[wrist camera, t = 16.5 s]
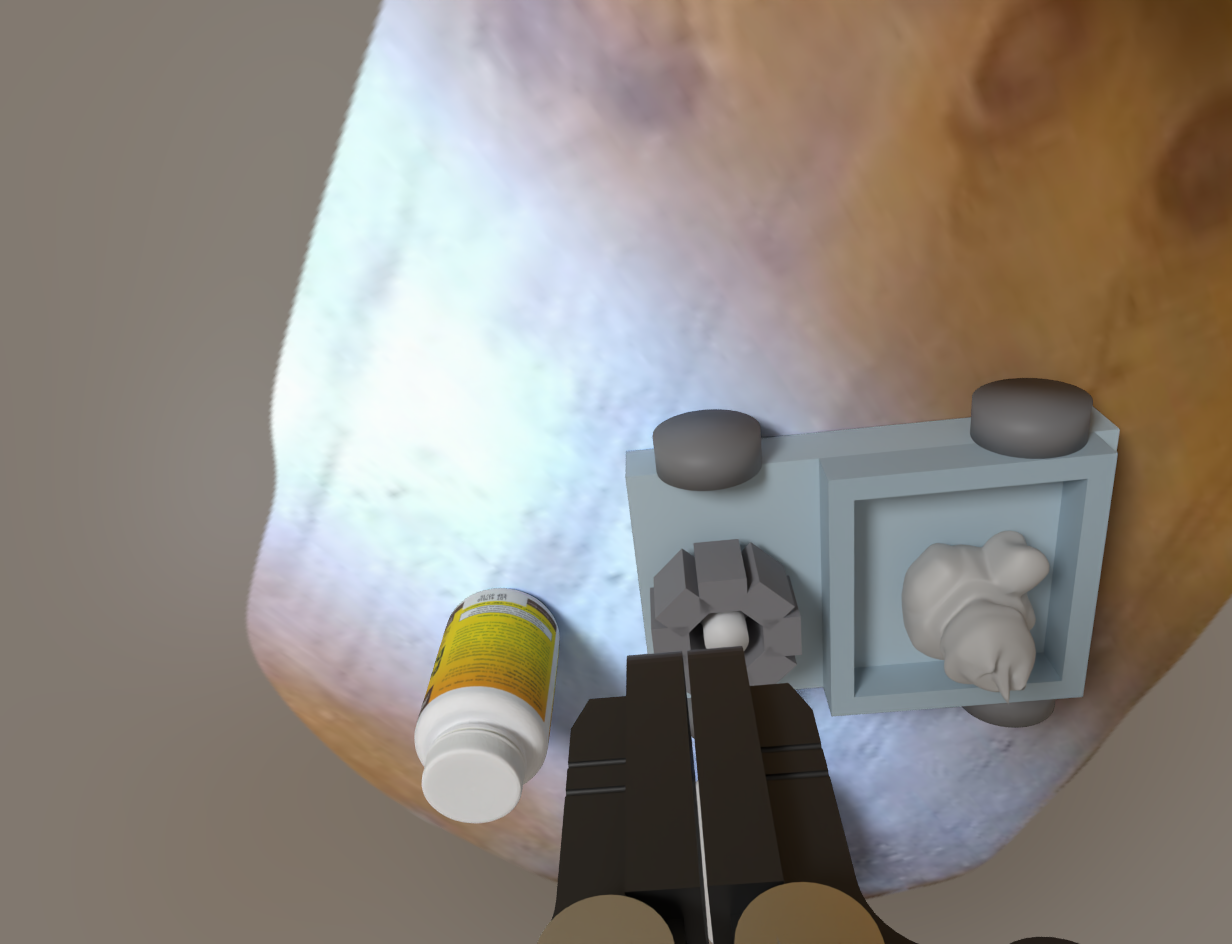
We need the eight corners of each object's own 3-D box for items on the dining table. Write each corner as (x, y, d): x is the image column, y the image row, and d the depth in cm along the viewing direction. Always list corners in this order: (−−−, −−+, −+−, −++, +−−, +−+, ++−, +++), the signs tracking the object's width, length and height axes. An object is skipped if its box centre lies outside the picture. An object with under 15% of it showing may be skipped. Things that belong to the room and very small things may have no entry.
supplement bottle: (440, 584, 44) (389, 735, 34) (556, 580, 43) (535, 731, 34) (455, 676, 46) (411, 840, 37) (565, 673, 46) (548, 837, 37)
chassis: (621, 418, 39) (619, 484, 34) (1096, 370, 38) (1174, 430, 33) (655, 692, 46) (658, 784, 41) (1059, 659, 45) (1119, 750, 39)
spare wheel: (645, 547, 39) (645, 587, 36) (787, 534, 38) (799, 573, 35) (658, 660, 41) (660, 705, 38) (791, 649, 41) (803, 693, 38)
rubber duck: (858, 589, 40) (907, 713, 33) (961, 479, 38) (1038, 588, 31) (950, 644, 42) (1016, 775, 34) (1056, 541, 39) (1151, 659, 32)
